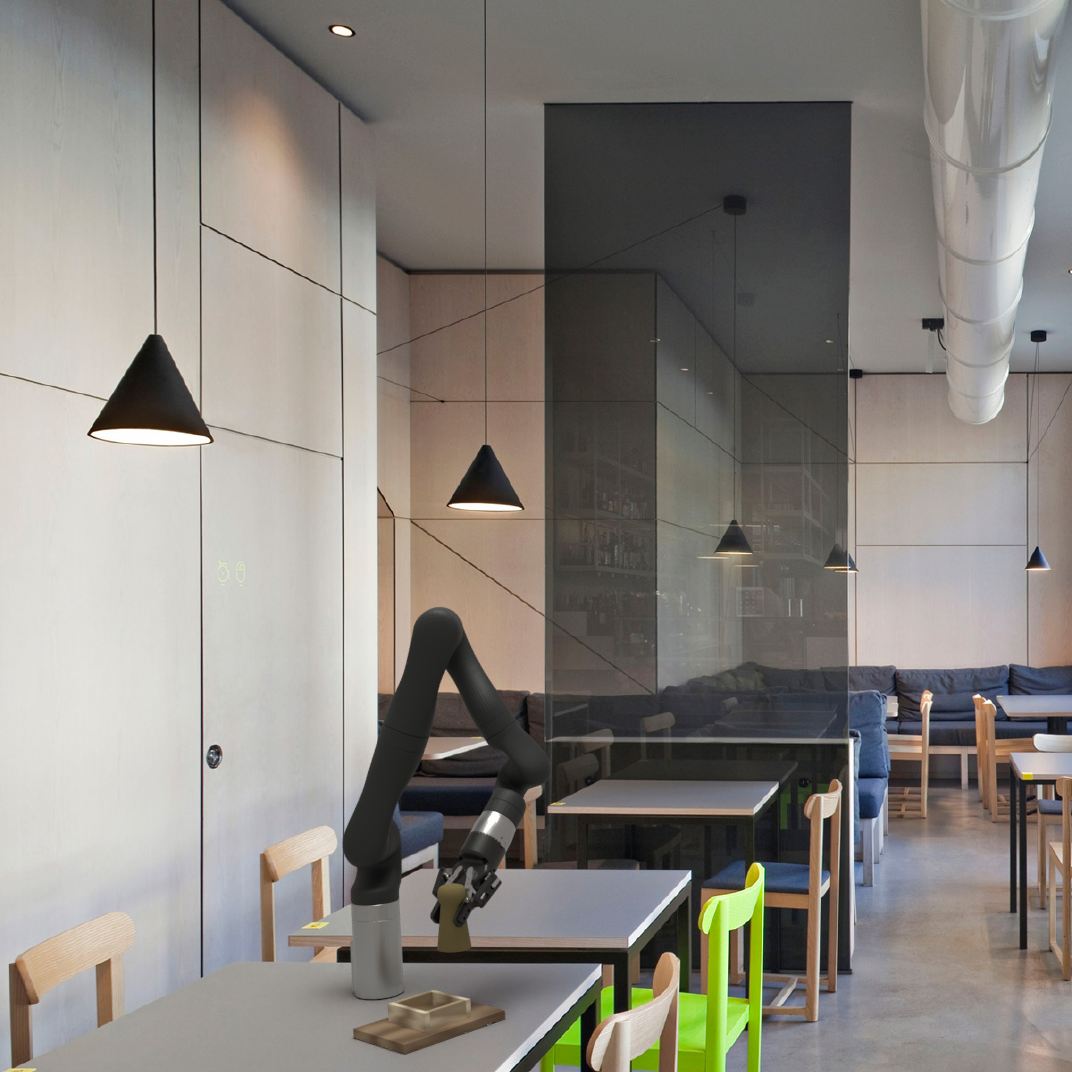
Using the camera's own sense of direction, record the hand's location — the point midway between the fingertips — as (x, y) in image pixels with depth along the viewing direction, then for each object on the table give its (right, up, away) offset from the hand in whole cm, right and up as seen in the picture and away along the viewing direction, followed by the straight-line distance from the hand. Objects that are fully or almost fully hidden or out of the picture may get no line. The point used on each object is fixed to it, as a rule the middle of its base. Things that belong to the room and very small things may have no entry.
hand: (445, 922), depth 214 cm
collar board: (-2, -16, -5) cm, 17 cm away
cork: (+2, -5, +1) cm, 5 cm away
